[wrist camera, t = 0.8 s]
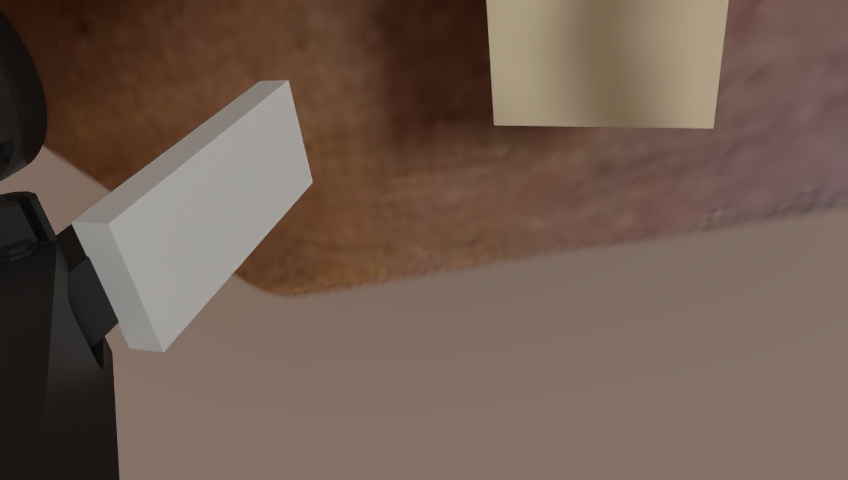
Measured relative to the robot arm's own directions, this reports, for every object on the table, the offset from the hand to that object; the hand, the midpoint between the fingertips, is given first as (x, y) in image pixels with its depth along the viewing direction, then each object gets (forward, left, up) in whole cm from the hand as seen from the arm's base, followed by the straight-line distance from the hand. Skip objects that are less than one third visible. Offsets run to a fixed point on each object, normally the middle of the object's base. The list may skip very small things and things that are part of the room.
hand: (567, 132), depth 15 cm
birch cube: (0, -1, -19) cm, 19 cm away
